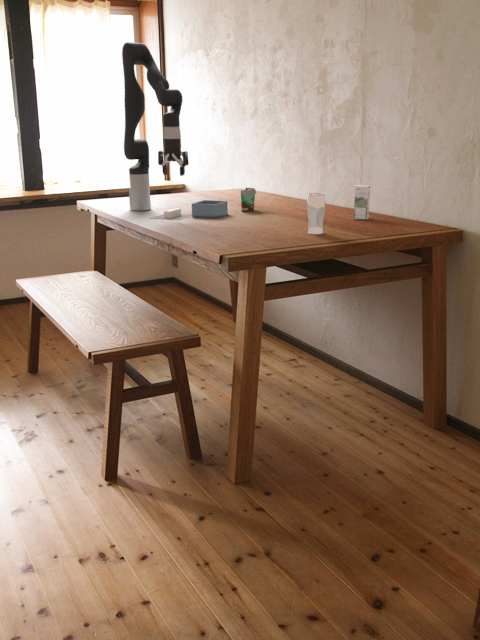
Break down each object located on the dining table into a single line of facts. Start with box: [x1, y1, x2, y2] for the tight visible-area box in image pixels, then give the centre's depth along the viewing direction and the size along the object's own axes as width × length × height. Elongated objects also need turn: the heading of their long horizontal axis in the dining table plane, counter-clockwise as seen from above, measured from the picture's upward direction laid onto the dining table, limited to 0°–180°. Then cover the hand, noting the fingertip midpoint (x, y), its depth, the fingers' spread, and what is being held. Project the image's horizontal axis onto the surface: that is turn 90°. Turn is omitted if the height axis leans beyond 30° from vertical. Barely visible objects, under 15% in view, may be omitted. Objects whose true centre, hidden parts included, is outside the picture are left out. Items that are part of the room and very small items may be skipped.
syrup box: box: [353, 183, 371, 221], centre depth 272 cm, size 6×6×14 cm
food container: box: [240, 187, 257, 213], centre depth 303 cm, size 12×6×10 cm, turn 168°
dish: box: [191, 199, 229, 219], centre depth 290 cm, size 12×12×6 cm
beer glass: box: [306, 192, 326, 236], centre depth 243 cm, size 7×7×15 cm
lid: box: [149, 207, 192, 221], centre depth 290 cm, size 15×15×4 cm
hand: (173, 175), depth 285 cm, fingers open, 8 cm apart
